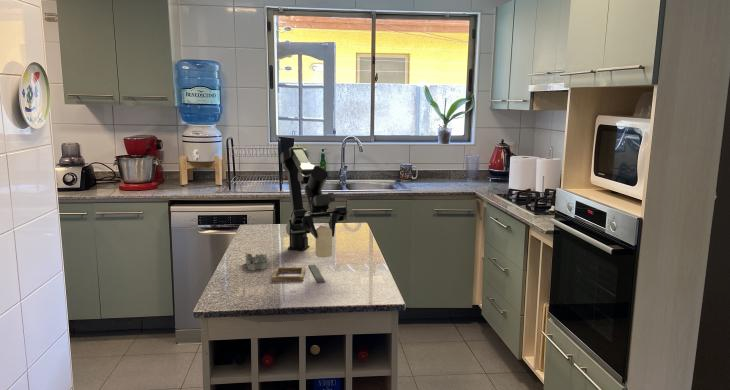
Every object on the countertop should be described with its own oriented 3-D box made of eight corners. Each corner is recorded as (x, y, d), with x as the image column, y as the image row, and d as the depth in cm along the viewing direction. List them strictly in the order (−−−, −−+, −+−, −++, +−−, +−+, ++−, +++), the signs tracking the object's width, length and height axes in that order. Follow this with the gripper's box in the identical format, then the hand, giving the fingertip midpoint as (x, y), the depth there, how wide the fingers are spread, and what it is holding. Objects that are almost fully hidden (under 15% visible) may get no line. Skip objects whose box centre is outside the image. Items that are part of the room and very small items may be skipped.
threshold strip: (325, 282, 166) (325, 281, 166) (317, 283, 165) (317, 281, 165) (315, 265, 183) (315, 264, 183) (308, 266, 182) (308, 265, 182)
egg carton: (245, 262, 187) (244, 251, 187) (266, 261, 189) (265, 250, 189) (246, 271, 177) (246, 260, 176) (268, 269, 179) (268, 258, 178)
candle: (335, 254, 174) (335, 225, 173) (327, 258, 169) (327, 228, 168) (320, 251, 177) (320, 223, 175) (312, 256, 172) (312, 227, 170)
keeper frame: (276, 271, 176) (276, 267, 176) (305, 271, 177) (305, 267, 177) (272, 281, 167) (272, 277, 166) (303, 281, 167) (303, 276, 167)
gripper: (292, 186, 169) (301, 226, 161) (345, 183, 176) (357, 221, 168) (287, 205, 178) (296, 244, 170) (338, 201, 184) (349, 238, 176)
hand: (325, 236), depth 171 cm, fingers closed on candle, 5 cm apart
